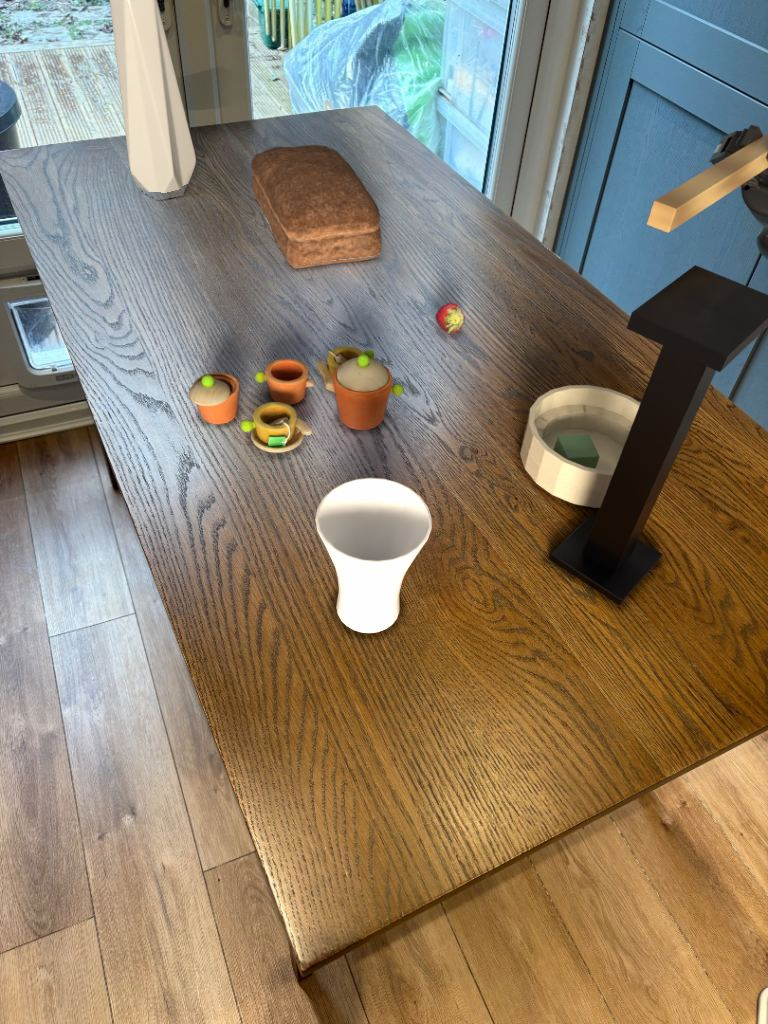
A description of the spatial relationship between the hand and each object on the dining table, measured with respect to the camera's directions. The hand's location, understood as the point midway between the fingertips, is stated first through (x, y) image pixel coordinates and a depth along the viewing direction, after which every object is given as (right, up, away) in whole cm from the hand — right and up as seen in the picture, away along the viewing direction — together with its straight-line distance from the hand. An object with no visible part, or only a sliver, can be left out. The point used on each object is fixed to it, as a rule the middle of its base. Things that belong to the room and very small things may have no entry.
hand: (761, 141), depth 68 cm
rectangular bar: (-4, -5, -1) cm, 6 cm away
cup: (-36, -44, +9) cm, 57 cm away
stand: (-10, -39, +15) cm, 43 cm away
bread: (-47, +17, +65) cm, 82 cm away
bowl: (-9, -28, +26) cm, 39 cm away
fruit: (-25, -6, +45) cm, 52 cm away
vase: (-75, +25, +71) cm, 107 cm away
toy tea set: (-46, -21, +30) cm, 58 cm away
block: (-11, -29, +24) cm, 39 cm away
